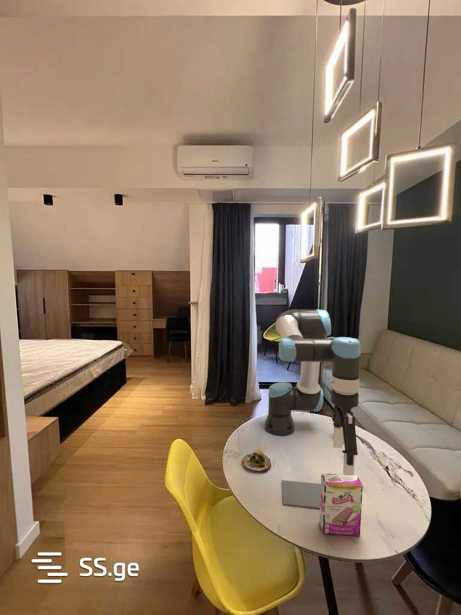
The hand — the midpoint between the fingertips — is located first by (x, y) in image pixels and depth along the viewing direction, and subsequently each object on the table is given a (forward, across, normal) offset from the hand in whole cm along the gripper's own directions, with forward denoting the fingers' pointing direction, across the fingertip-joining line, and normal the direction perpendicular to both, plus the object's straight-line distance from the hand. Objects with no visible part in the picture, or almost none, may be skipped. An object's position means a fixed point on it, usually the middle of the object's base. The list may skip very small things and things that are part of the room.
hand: (342, 459), depth 87 cm
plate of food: (+22, -28, -27) cm, 45 cm away
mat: (+22, -13, -6) cm, 27 cm away
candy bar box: (+22, 0, 0) cm, 22 cm away
